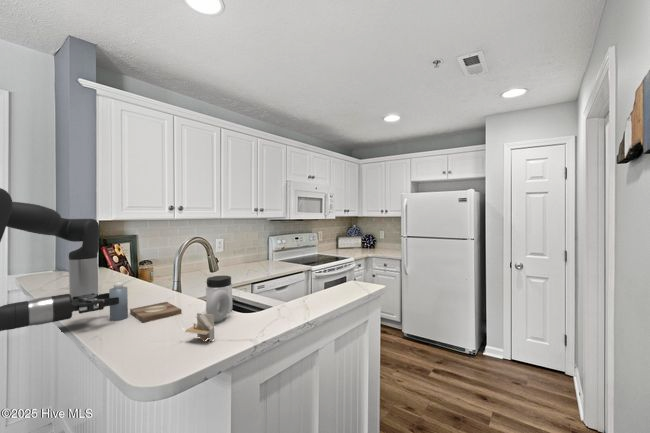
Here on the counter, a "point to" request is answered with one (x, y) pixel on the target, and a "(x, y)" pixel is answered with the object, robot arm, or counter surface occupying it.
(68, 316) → the robot arm
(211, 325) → the architectural model
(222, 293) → the donut
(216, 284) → the jar
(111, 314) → the bottle
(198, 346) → the counter surface
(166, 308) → the walnut board
